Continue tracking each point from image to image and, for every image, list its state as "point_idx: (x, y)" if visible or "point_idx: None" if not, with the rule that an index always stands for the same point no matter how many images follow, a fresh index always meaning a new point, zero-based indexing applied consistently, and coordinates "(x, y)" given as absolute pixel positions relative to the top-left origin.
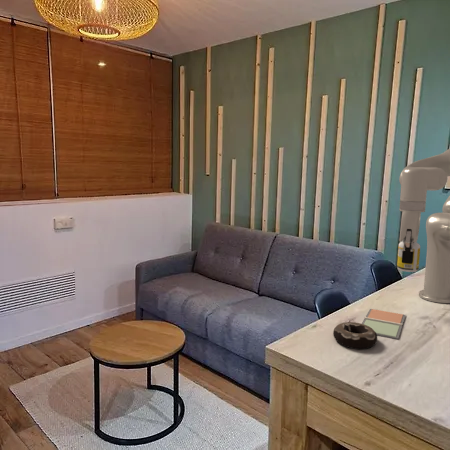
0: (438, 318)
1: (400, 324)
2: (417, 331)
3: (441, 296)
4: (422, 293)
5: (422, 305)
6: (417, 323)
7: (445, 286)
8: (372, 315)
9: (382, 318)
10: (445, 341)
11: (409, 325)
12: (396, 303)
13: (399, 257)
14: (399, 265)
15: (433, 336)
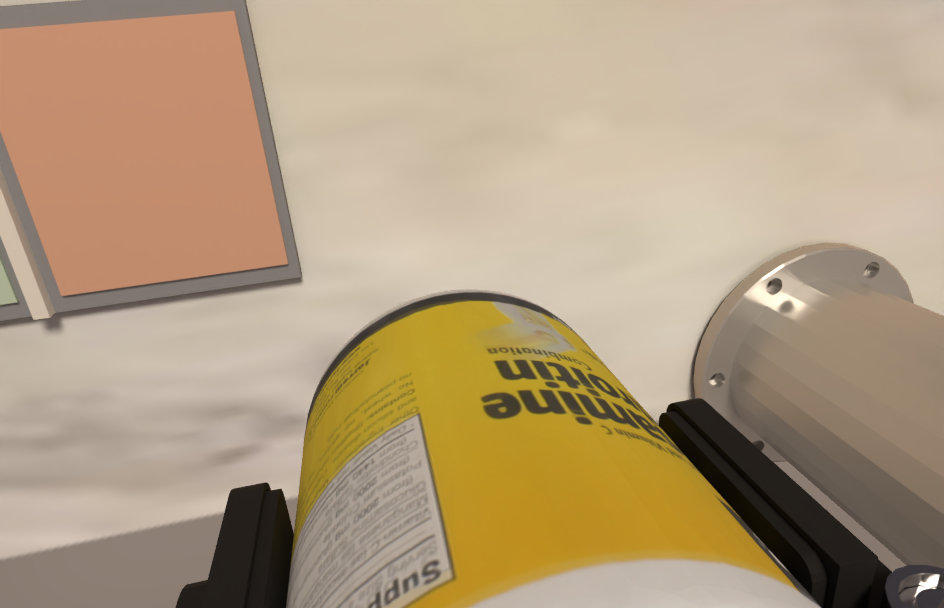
0: None
1: (29, 308)
2: (57, 405)
3: (742, 406)
4: (802, 277)
5: (599, 312)
6: (212, 370)
7: (797, 464)
8: (65, 59)
9: (66, 154)
10: (32, 552)
11: (129, 340)
12: (546, 150)
13: (349, 451)
14: (335, 377)
15: (54, 491)
